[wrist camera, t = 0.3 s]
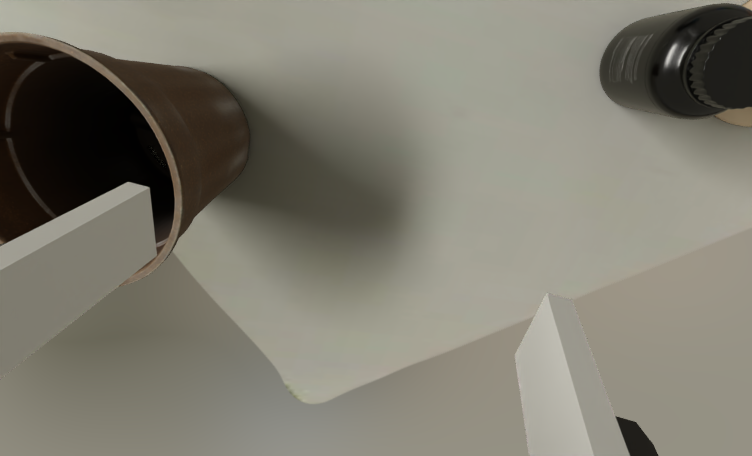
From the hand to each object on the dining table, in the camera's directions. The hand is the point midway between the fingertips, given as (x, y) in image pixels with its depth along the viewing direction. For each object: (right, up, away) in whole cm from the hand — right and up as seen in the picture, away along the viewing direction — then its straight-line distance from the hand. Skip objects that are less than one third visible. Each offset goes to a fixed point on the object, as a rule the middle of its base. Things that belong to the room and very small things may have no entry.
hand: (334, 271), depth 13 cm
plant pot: (-17, +11, +27) cm, 33 cm away
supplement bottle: (+23, +15, +20) cm, 34 cm away
